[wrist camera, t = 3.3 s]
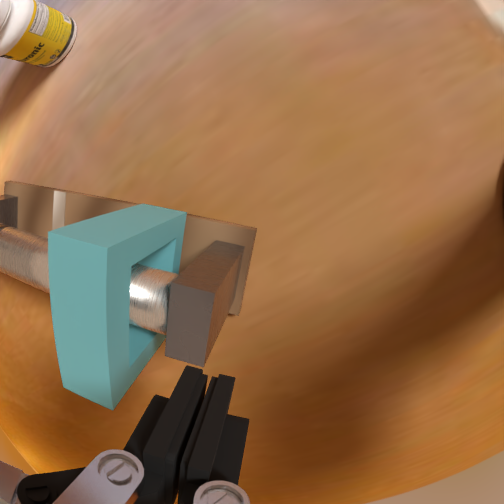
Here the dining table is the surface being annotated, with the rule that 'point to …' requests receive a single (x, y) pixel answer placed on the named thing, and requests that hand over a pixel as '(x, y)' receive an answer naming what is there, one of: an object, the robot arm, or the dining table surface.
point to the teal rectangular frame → (107, 296)
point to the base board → (88, 206)
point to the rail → (145, 287)
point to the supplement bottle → (34, 32)
